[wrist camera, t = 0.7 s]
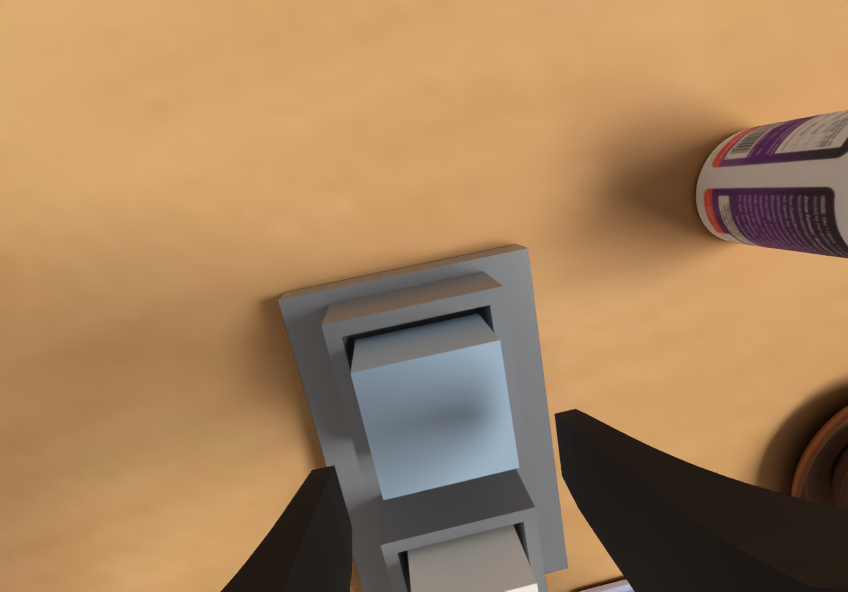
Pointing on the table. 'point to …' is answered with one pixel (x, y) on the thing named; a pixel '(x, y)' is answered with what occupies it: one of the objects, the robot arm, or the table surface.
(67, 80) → the table surface
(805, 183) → the pill bottle
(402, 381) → the blue key
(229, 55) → the table surface
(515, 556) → the white key
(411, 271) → the key panel
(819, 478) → the cup and saucer
